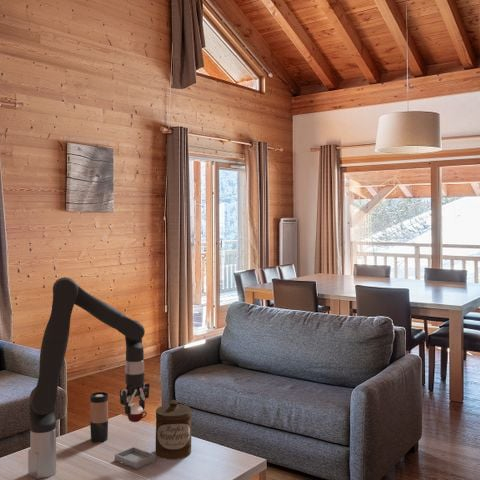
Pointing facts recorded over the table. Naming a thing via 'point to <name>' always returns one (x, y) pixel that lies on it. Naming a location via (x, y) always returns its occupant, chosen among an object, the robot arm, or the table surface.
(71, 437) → the table surface
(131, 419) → the cocoa
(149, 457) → the tray
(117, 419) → the table surface
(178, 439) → the labeled brown tin
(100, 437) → the travel mug
